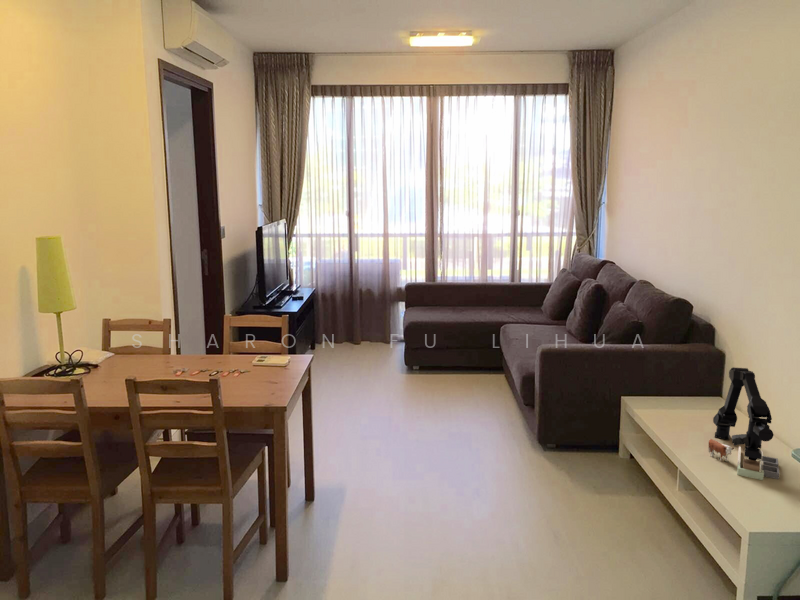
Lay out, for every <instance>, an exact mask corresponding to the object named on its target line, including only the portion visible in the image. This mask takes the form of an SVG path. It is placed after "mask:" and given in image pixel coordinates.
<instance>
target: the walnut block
mask: <svg viewBox="0 0 800 600" xmlns="http://www.w3.org/2000/svg"><path fill="white" fill-rule="evenodd" d="M760 465H761V461H759V460H756V461H754V460H750V459H748V458H743V462H742V468H743V469H748V470H753V471H757V472H760V471H761V469H760Z"/></svg>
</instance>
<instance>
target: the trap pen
mask: <svg viewBox="0 0 800 600" xmlns="http://www.w3.org/2000/svg"><path fill="white" fill-rule="evenodd" d="M741 452H742V447H741V445H738V451H737V472H736V475H737V476H741V477H746V478H750V479H755V480H761V481H764V478H765V477H766V478H770V479H775V480H779V479H780V467H779V459H778V458H777V457H772V456H766V455H764V451H763V450H761V452H762V457H761V459H759V460H760V461H759V462H760V471H759V472H757V471H753V470H748V469H743V467H741V457H742V455H741Z"/></svg>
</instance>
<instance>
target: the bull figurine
mask: <svg viewBox="0 0 800 600" xmlns="http://www.w3.org/2000/svg"><path fill="white" fill-rule="evenodd" d="M734 449H735V448H734V447H731V446H729V445H728V444H725V443H724V444H723V443H721V442H719V441H718V440H717V441H716V440H714V439H712V438H710V439H709V441H708V452H709V453H710V456H711V457H712V458H714V455H715V453H716V454H720V456H719V457H720V458H719V461H720V462H722V461H723V460H722V459H723V457H725V462H727V463H729V460H728V456H729V455H732V451H733V450H734ZM713 454H714V455H713Z"/></svg>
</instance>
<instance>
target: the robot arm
mask: <svg viewBox="0 0 800 600" xmlns="http://www.w3.org/2000/svg"><path fill="white" fill-rule="evenodd" d="M728 378H729V380H730V386H729V389H728V392H727V396H726V397H725V401H724V405H722V407H720V408H719V409H718V411H717V413H716V414H715V415H714V416H713V417H712V423H713V424H714V425H715V426H716V431H715V432H714V438H715V439H716V438H717V439H723V440H728V441H730V439H731V441H732V445H733V446H734V447H735V446H742V445H744V457H746V458H747V459H750V460H754V461H758V460H760V459H761V457H762V452H761V451H762V450H761V449H762V442H769V441H772V439H773V438H774V435H775V434H774V432H773V430H772V429H771V428H770V425H769V424H772V420H773V417H772V415H771V414H772V413H771V410H770V407H769V406H768V404H767V401H766V400H764V399H763V398H762V397H761V393H760V391H759V387H758V385H757V382H756V375H755V372H754V371H752V370H749V369H748V367H731V368H730V369H729V371H728ZM743 387H744V389H745V393H746V396H747V400H748V404H747V406H746V409H747V410H746V411H747V415H748V419H749V420H748V426H747V431H746V432H745V433H743V434H742V433H741V434H733V435H730V432H731V428H735V427H736V423H737V421H738V415H737V413H736V408H737V404H738V401H739V399H740V398H739V397H740V394H741V392H742V389H743Z"/></svg>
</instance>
